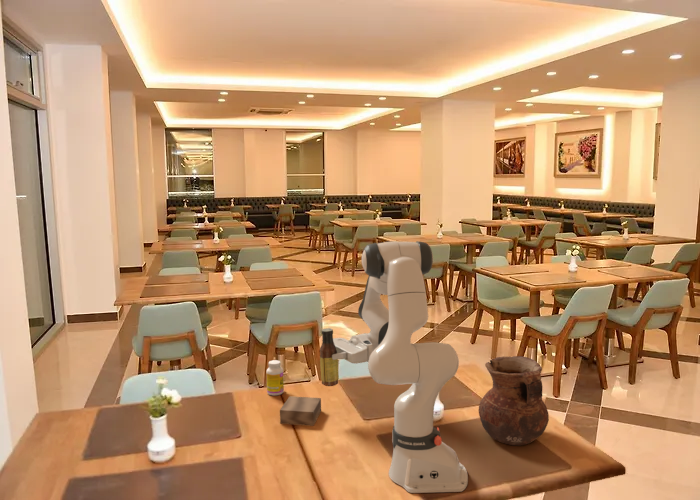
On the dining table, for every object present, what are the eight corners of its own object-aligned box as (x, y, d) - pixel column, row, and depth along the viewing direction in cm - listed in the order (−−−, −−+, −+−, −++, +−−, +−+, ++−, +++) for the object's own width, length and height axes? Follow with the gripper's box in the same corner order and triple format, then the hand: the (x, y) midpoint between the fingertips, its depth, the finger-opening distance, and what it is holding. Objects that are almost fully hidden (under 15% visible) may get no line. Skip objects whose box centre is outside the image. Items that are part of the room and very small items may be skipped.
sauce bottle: (342, 382, 193) (341, 328, 190) (332, 388, 188) (331, 333, 185) (327, 378, 196) (326, 326, 193) (317, 384, 191) (315, 330, 188)
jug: (466, 436, 178) (467, 364, 175) (496, 415, 193) (498, 348, 190) (530, 460, 163) (533, 381, 160) (558, 435, 178) (561, 362, 175)
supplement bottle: (282, 396, 213) (281, 364, 212) (265, 396, 213) (264, 365, 212) (284, 389, 220) (283, 359, 218) (268, 389, 220) (267, 359, 218)
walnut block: (321, 410, 199) (320, 398, 199) (313, 425, 188) (313, 412, 187) (289, 409, 201) (289, 396, 201) (280, 423, 190) (279, 410, 189)
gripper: (344, 331, 206) (312, 338, 198) (374, 345, 188) (341, 353, 181) (344, 347, 206) (312, 354, 199) (375, 362, 189) (341, 371, 182)
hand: (326, 354), depth 190 cm, fingers closed on sauce bottle, 6 cm apart
